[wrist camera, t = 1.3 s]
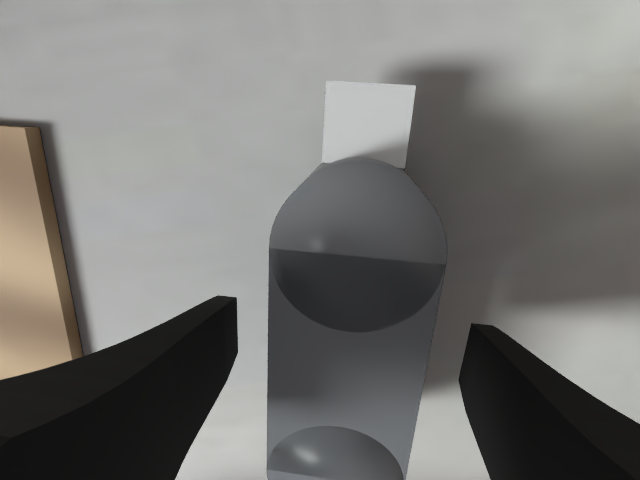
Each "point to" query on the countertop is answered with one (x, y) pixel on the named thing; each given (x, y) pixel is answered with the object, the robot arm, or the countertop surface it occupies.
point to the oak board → (31, 262)
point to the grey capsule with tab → (352, 297)
